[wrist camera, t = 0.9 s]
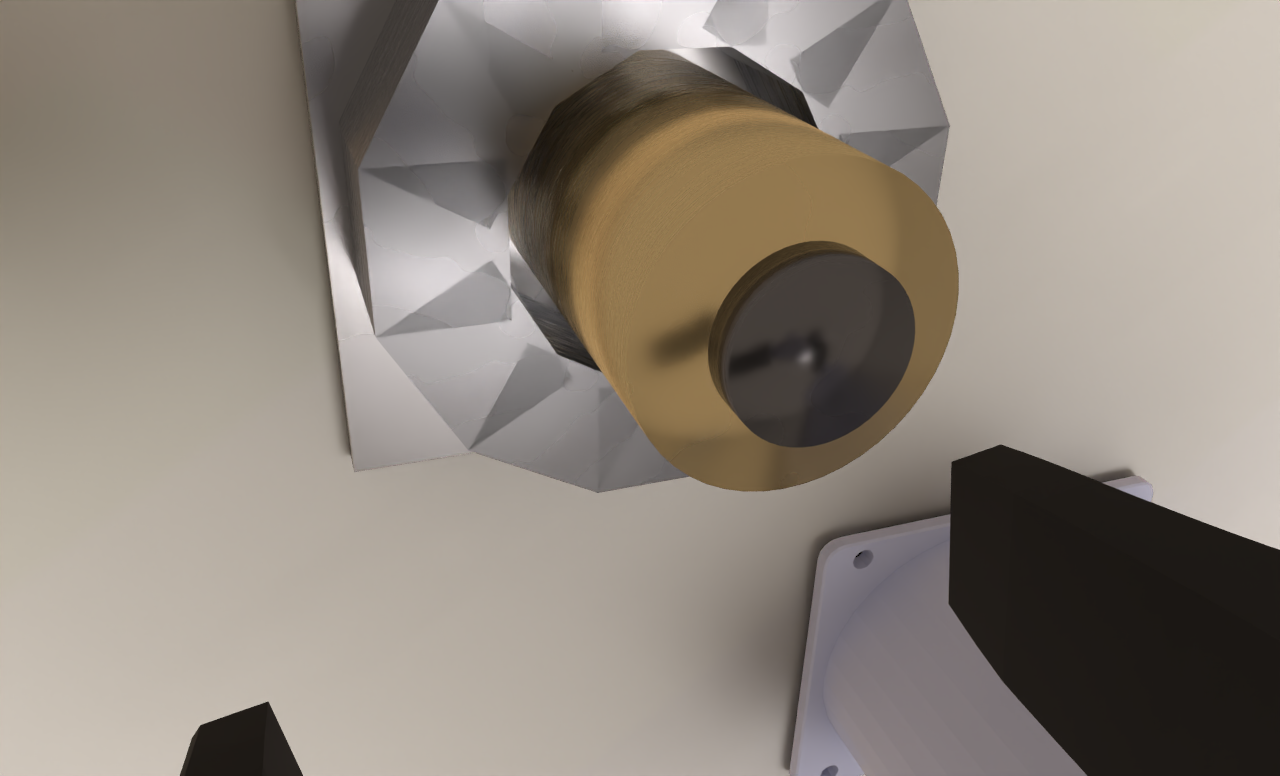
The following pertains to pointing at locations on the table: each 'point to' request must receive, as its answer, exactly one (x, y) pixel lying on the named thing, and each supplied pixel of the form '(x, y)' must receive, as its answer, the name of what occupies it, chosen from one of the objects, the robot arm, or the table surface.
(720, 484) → the tan cylinder
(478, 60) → the housing
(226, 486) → the table surface
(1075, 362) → the table surface
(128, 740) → the table surface
